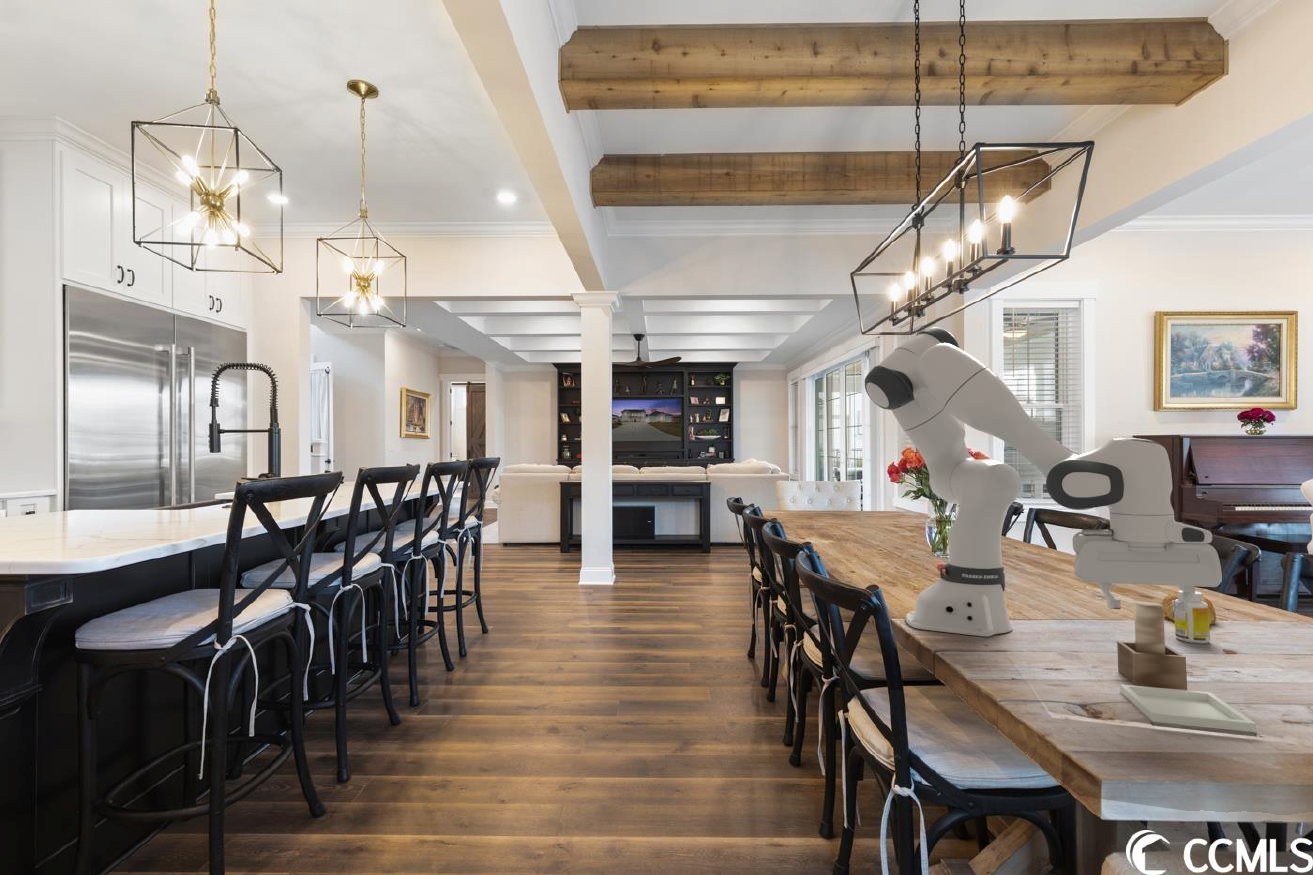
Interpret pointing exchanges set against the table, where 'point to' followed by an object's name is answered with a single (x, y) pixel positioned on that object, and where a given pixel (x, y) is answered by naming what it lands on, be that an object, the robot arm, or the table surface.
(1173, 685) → the open wooden box
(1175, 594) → the croissant
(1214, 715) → the tray
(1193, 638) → the supplement bottle
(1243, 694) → the table surface
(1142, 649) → the dowel
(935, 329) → the robot arm
